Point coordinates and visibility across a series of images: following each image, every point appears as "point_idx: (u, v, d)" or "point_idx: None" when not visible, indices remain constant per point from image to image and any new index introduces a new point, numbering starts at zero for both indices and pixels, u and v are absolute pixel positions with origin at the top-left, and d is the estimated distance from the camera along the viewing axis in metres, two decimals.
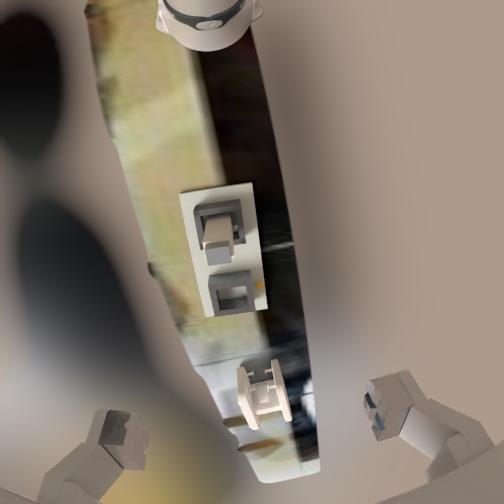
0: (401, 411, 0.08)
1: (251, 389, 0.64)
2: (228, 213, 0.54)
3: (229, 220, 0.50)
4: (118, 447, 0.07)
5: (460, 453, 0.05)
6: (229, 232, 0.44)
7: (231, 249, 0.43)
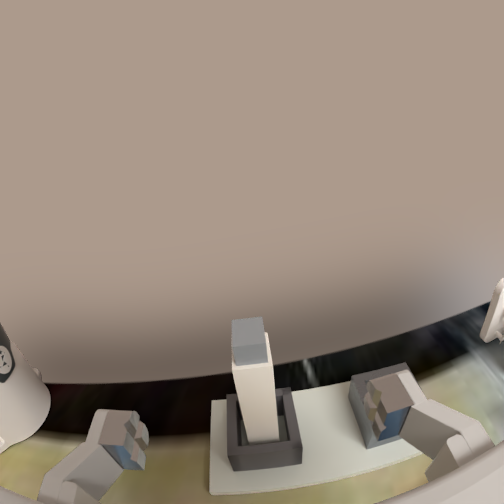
0: (401, 411, 0.08)
1: None
2: None
3: None
4: (118, 447, 0.07)
5: (460, 453, 0.05)
6: None
7: None
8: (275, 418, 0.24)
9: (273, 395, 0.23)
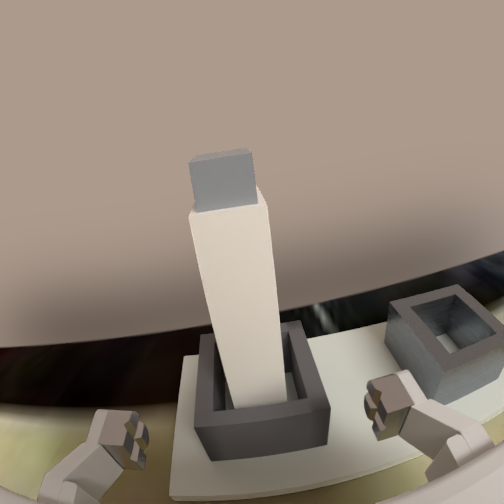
0: (401, 411, 0.08)
1: None
2: None
3: None
4: (118, 447, 0.07)
5: (460, 453, 0.05)
6: None
7: None
8: (278, 350, 0.14)
9: (272, 288, 0.13)
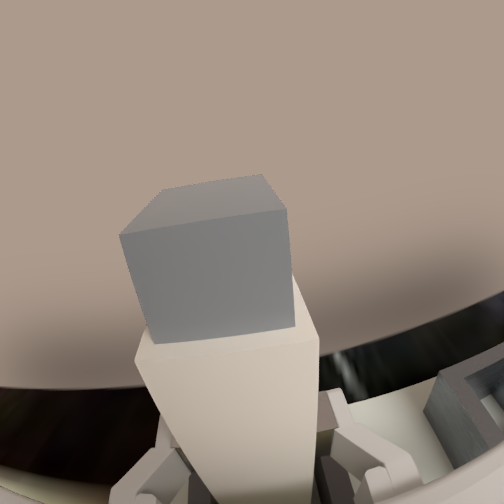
0: (324, 433, 0.08)
1: None
2: None
3: None
4: None
5: (379, 488, 0.05)
6: None
7: None
8: (306, 495, 0.07)
9: (309, 450, 0.06)
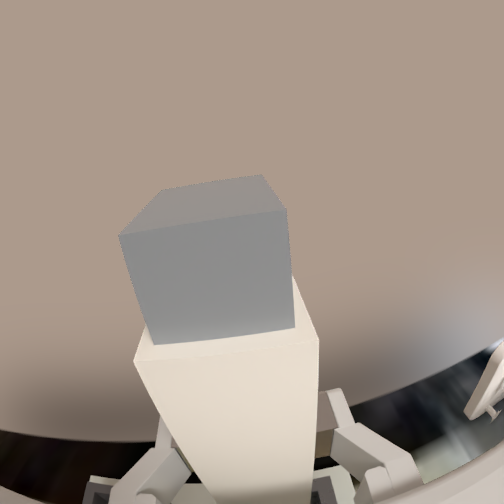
0: (324, 433, 0.08)
1: None
2: None
3: None
4: None
5: (379, 488, 0.05)
6: None
7: None
8: (305, 496, 0.07)
9: (308, 450, 0.06)
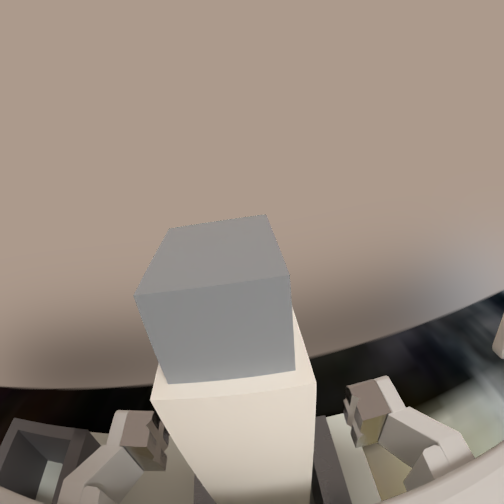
0: (378, 419, 0.08)
1: None
2: None
3: None
4: (141, 448, 0.07)
5: (437, 465, 0.05)
6: None
7: None
8: None
9: (306, 468, 0.06)
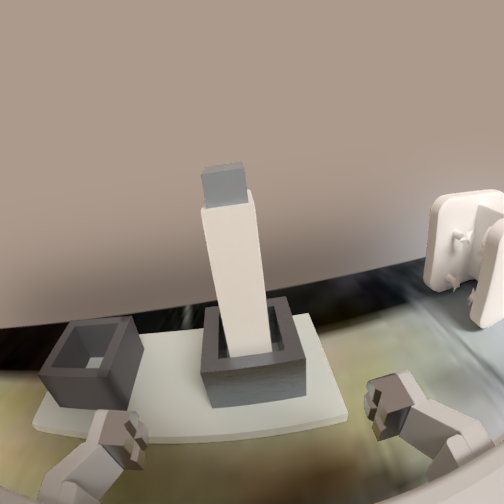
0: (401, 411, 0.08)
1: None
2: None
3: None
4: (118, 447, 0.07)
5: (460, 453, 0.05)
6: None
7: None
8: (264, 311, 0.20)
9: (259, 263, 0.18)
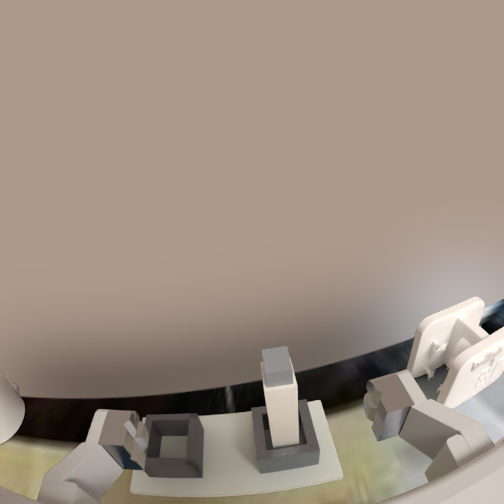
0: (401, 411, 0.08)
1: None
2: None
3: None
4: (118, 447, 0.07)
5: (460, 453, 0.05)
6: None
7: None
8: (296, 427, 0.28)
9: (296, 409, 0.27)
